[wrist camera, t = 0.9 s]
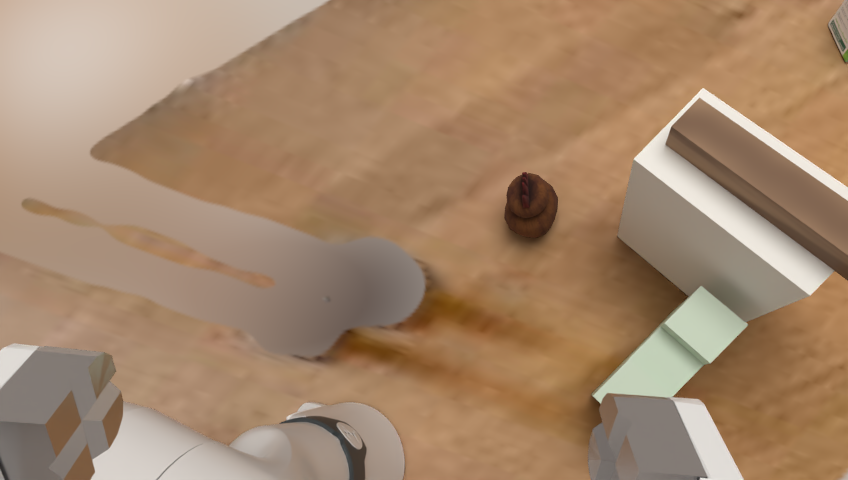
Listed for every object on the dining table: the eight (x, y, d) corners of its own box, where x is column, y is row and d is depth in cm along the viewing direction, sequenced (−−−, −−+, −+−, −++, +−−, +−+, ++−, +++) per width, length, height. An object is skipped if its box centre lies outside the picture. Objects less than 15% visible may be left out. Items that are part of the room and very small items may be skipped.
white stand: (728, 329, 67) (809, 295, 43) (617, 236, 73) (633, 159, 48) (778, 278, 67) (888, 215, 43) (663, 189, 73) (703, 88, 48)
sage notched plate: (624, 427, 68) (636, 438, 53) (590, 394, 69) (592, 395, 54) (711, 339, 67) (748, 324, 52) (675, 308, 69) (701, 285, 54)
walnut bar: (957, 362, 40) (990, 359, 36) (665, 144, 48) (671, 126, 45) (989, 329, 40) (1025, 324, 36) (691, 117, 48) (699, 97, 45)
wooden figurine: (546, 249, 75) (537, 217, 60) (503, 235, 76) (485, 200, 62) (565, 200, 75) (560, 157, 61) (522, 187, 77) (508, 142, 63)
